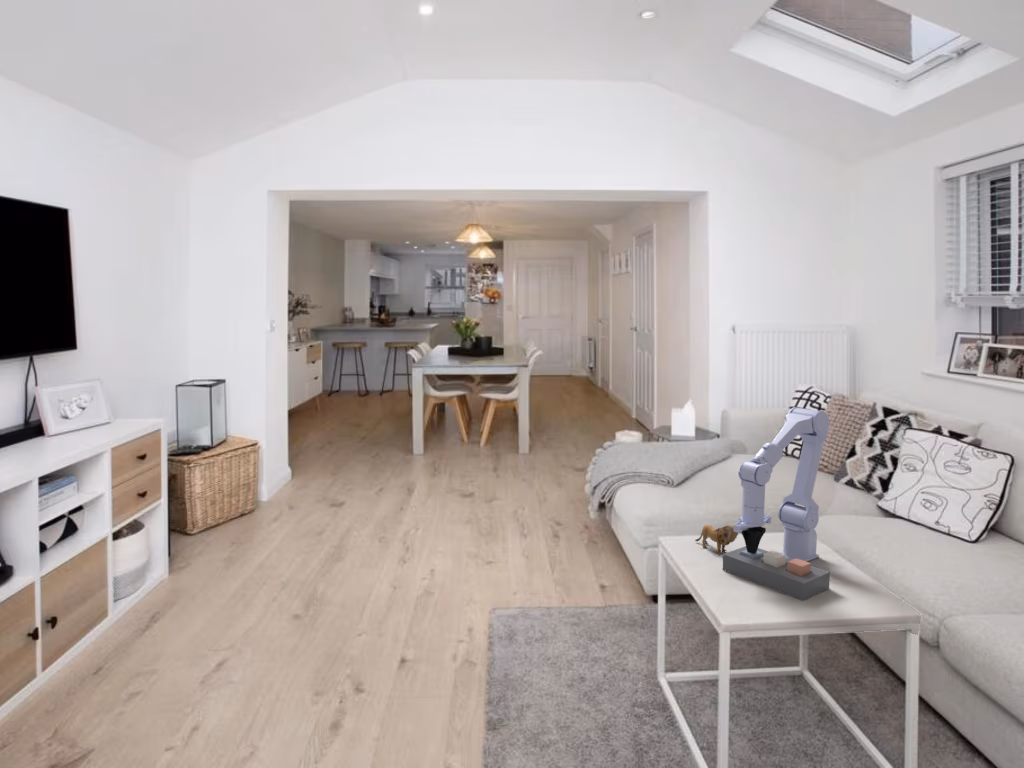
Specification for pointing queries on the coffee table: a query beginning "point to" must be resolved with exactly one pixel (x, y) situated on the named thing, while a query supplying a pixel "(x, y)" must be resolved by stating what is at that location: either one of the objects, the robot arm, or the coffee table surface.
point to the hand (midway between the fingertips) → (751, 552)
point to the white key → (774, 559)
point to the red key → (799, 567)
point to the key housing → (776, 575)
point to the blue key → (751, 554)
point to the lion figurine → (718, 536)
